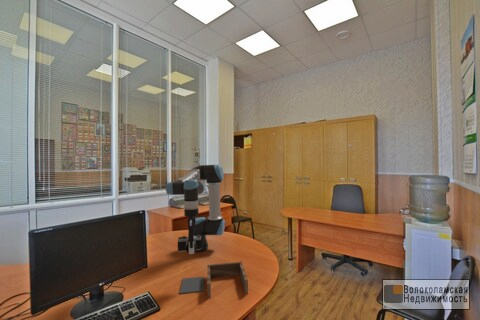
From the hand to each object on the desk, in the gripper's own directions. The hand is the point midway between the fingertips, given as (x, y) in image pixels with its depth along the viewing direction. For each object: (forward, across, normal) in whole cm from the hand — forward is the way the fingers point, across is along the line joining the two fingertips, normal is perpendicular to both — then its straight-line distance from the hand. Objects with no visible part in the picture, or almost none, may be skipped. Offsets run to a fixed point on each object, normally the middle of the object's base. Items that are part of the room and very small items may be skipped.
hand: (192, 250), depth 117 cm
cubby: (+19, +3, +18) cm, 26 cm away
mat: (+19, 0, 0) cm, 19 cm away
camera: (0, 0, -1) cm, 1 cm away
